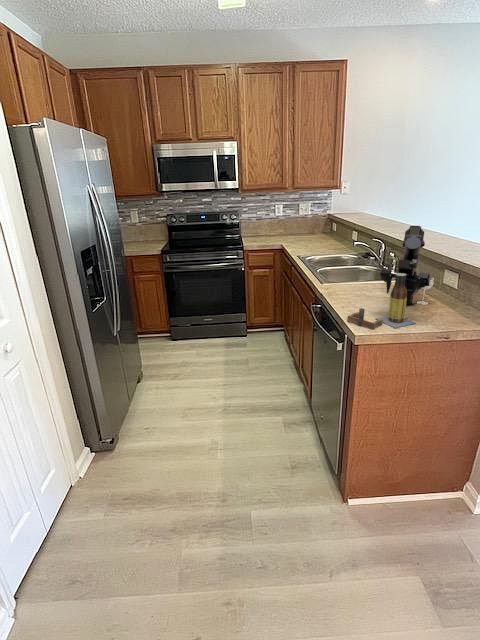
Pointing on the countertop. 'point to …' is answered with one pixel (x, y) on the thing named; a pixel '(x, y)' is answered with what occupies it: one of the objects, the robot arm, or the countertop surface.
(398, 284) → the sauce bottle
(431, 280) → the wineglass
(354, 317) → the c holder
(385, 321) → the slate mat
